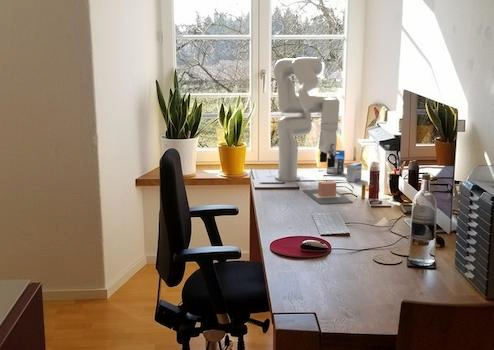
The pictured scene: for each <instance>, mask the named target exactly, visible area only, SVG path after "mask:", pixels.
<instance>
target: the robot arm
mask: <svg viewBox="0 0 494 350" xmlns="http://www.w3.org/2000/svg"><path fill="white" fill-rule="evenodd" d="M322 71H323V64H322V62H321V60H320V59H319V58H318V57H313V56H311V57H310V56H302V57H301V56H299V57H296V58H281V59H279V60H277V61H276V63H274V69H273V75H274V79H275V81H276V85H277V96H278V99H277V100H278V108H279V112H280V113H281V114H284V115H298V116H283V117H281V118H279V120H278V121H277V124H276V125H277V134H278V165H277V166H278V167H277V168H278V174H276V175H275V176H274V178H275V179H276V180H277V181H282V182H295V181H299V180H300V179H301V176H300V175H298V150H299V149H298V148H299V147H298V141H297V139H296V138H295V137H294V136H307V135H309V134H310V133H311V130H312V126H313V125H312V124H313V123H312V114H317V113H318V114H321V118H320V134H319V140H318V149H319V162H320V163H326V168H327V167H335V156H336V153H337V152H336V150H337V142H338V141H337V132H338V131H339V118H340V117H339V116H340V114H339V113H340V100H339V99H338V98H335V97H331V96H330V95H310V94H309V93H308V92H310V91H311V90H313V89H314V88H316V87H317V86H318V84H319V77H318V75H320V74H321V72H322ZM290 77H296V79H297V81H298V83H299V84H300V86H299V89H298V94H296V88H295V87H296V86H295V83H294V82H293V81H292V79H291V78H290ZM330 154H331V155H330ZM328 157H329V158H328ZM327 158H328V163H327Z"/></svg>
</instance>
